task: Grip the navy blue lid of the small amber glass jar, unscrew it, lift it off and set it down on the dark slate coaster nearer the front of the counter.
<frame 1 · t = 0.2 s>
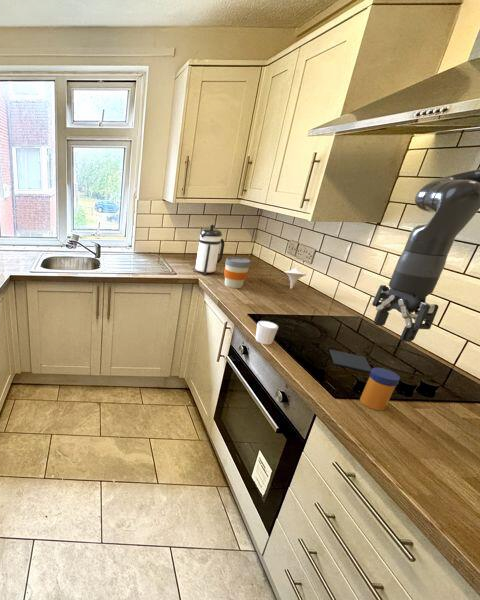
hand: (391, 332, 79), 22 cm above the worktop, tool pointing down, fingers open, 8 cm apart
jar lid: (385, 374, 84), point 10 cm above the worktop, screwed on, not yet turned
shot glass: (263, 341, 120), on the worktop
jar: (372, 403, 88), on the worktop
coffee press: (205, 272, 202), on the worktop
mushroom: (290, 289, 174), on the worktop
coaster: (349, 361, 107), on the worktop
reusable coffee cup: (233, 285, 178), on the worktop
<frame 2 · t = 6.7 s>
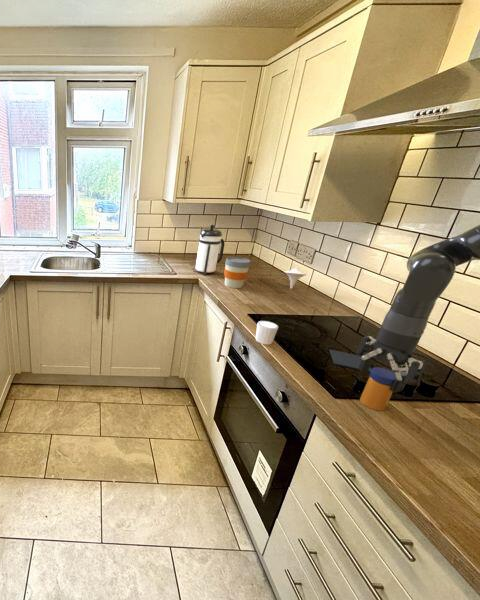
hand: (378, 380, 86), 7 cm above the worktop, tool pointing down, fingers open, 8 cm apart
jar lid: (385, 374, 84), point 10 cm above the worktop, turned 75° so far, risen 0.1 cm, still on its thread
everything else where it was.
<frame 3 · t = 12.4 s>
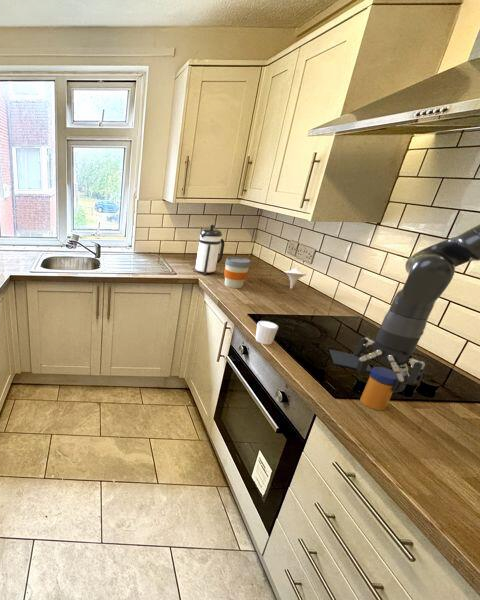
hand: (377, 381, 86), 7 cm above the worktop, tool pointing down, fingers open, 8 cm apart
jar lid: (385, 374, 84), point 10 cm above the worktop, turned 150° so far, risen 0.2 cm, still on its thread, touching gripper
everything else where it was.
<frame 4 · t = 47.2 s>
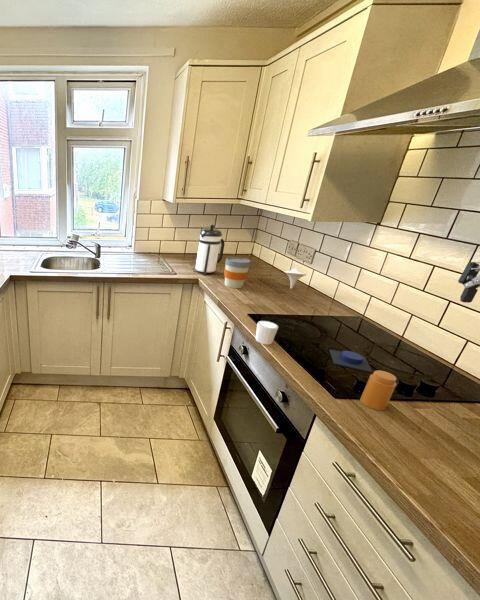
jar lid: (352, 356, 107), point 2 cm above the worktop, off its thread, touching coaster
everything else where it was.
at the end: jar lid came off its thread; jar lid inside the target area on the coaster (0.2 cm from its centre), point 2.0 cm above the coaster's base; the gripper is holding nothing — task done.
